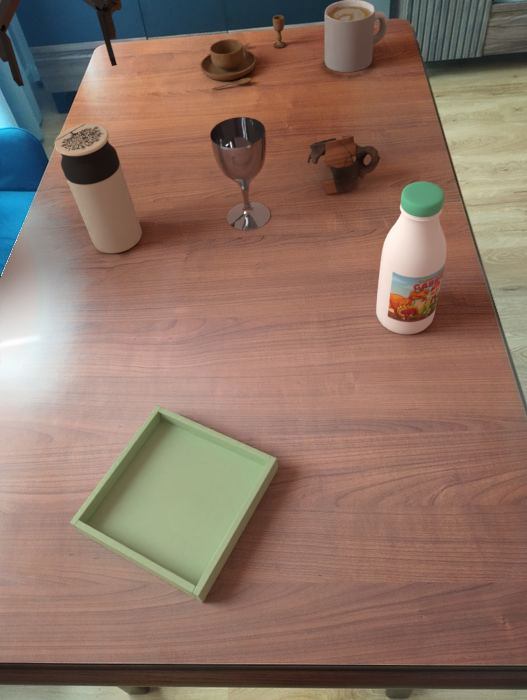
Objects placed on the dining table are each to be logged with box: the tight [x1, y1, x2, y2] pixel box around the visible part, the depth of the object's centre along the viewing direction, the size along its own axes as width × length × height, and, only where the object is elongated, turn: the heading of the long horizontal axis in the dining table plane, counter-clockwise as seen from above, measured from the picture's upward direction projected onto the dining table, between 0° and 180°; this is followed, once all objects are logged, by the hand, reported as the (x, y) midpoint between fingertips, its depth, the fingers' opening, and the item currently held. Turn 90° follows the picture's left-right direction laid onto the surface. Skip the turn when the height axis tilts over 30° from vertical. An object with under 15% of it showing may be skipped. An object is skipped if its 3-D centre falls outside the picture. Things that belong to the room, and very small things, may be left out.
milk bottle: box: [375, 180, 448, 335], centre depth 71 cm, size 8×8×20 cm
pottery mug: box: [306, 135, 381, 195], centre depth 97 cm, size 12×10×8 cm
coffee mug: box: [324, 0, 388, 73], centre depth 120 cm, size 13×10×10 cm
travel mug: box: [54, 122, 143, 254], centre depth 87 cm, size 8×8×18 cm
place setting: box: [200, 14, 287, 90], centre depth 124 cm, size 18×20×6 cm
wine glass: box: [209, 116, 271, 231], centre depth 89 cm, size 8×8×15 cm
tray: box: [69, 404, 279, 604], centre depth 64 cm, size 16×16×2 cm
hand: (66, 72), depth 83 cm, fingers open, 13 cm apart
